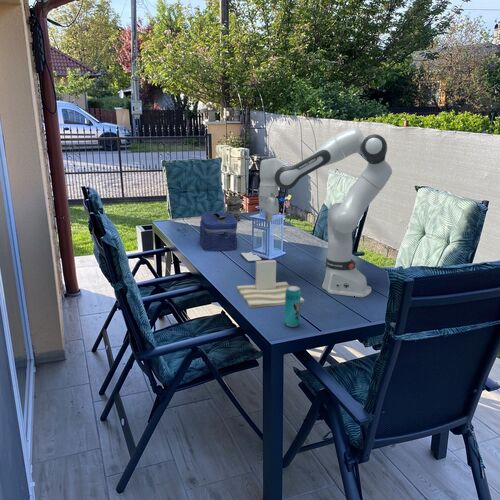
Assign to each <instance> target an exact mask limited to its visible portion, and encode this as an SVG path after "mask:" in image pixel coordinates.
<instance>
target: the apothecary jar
mask: <svg viewBox="0 0 500 500" xmlns="http://www.w3.org/2000/svg"><path fill="white" fill-rule="evenodd" d="M225 204H226V206H227V207H226V210H225V212H224V214H227V213H229V214H232V215H233V216H234V217H235V219H236V220H237V223H238V222H240V221H241V220H240V219H239V218H238V217H241V215H242V211H241V204H242V200H241V199H240V196H239V195H229V196H227V199H226V200H225Z"/></svg>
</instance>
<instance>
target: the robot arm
mask: <svg viewBox="0 0 500 500" xmlns="http://www.w3.org/2000/svg"><path fill="white" fill-rule="evenodd" d="M356 153H357V154H359V155H360V156H361V157H362V158H363V160H365V161H366V162H367V166H366V168H365V169H364V171H363V172H362V173H361V174H360V176H358V177H357V179H356V180H355V182H354V183H353V184H352V185H351V186H350V188H349V189H348V191H347V193H346V196H345V197H344V199H343V201H342V202H336V203H333V204H332V205H330V206H329V208H328V210H327V220H326V221H327V256H326V259H325V275H324V280H323V283H322V286H321V288H322V289H324V290H325V291H327V293H328V294H331V295H338V296H347V297H354V296H355V298H365V297H367V296H369V295H370V294H371V293H372V286H369V285H368V284H367V278H366V275H364V274H363V273H362V272H361V271H359V270H358V269H357V267H356V264H357V260H355V261H354V260H353V258H352V256H353V243H354V242H353V234H352V233H353V232H354V231H355V229H356V228H358V223H359V222H360V220H361V219H362V217H363V215H364V213H365V211H366V210H367V209H368V207H369V205H370V204H371V203H372V202H373V200H374V199H375V198H376V197H377V196H378V194H379V193H380V192H381V191H382V190H383V188H384V187H385V186H386V185H387V183H388V182H389V180H390V177H391V176H392V173H393V169H392V166H391V165H390V164H389V163H388V162H387V161H386V155H387V153H388V143H387V140H386V139H385V138H384V137H383V136H382V135H380V134H369V135H368V136H364V134H363V132H362V131H361V129H359V128H357V127H351V128H348V129H345V130H343V131H341V132H339V133H337V134H334V135H333V136H331V137H330V138H328V139H326V140H325V141H324V142H323V143H322V144H320V145H319V147H318V148H317V149H316V150H315V152H313V154H311V155H309V157H307V158H305V159H302V160H301V161H299V162H297V163H296V164H291V163H289V162H286V161H284V160H282V159H281V158H279V157H278V156H275V155H274V156H268V157H264V158H263V159H262V160H261V161H260V164H259V165H260V167H259V179H260V182H259V188H258V189H257V194H258V206H259V208H260V209H261V210H263V213H264V220H266V221H267V222H268V223H271V222H273V216H279V212H280V206H279V199H278V198H277V197H278V196H279V188H280V189H282V190H291V189H293V187H295V186H296V185H297V184H298V182H299V181H300V179H302V178H303V177H305V176H307V175H308V174H310V173H312V172H314V171H316V170H318V169H320V168H323V167H326V166H329V165H331V164H335V163H338V162H340V161H342V160H344V159H346V158H348V157H350V156H351V155H354V154H356Z"/></svg>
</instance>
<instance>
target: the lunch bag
mask: <svg viewBox="0 0 500 500" xmlns="http://www.w3.org/2000/svg"><path fill="white" fill-rule="evenodd" d="M200 216H201V217H200V222H199V241H200V244H201V246H202V248H203V250H204V251H205V252H213V253H214V252H223V251H226V252H227V251H228V252H229V251H235V250H237V249H238V238H237V229H238V222H237V220H236V219H235V217H234V216H233V215H232V214H229V213H227V214H225V212H224V213H223V212H206V213H205V212H204V213H202V214H201V215H200Z"/></svg>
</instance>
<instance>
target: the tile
mask: <svg viewBox="0 0 500 500" xmlns="http://www.w3.org/2000/svg"><path fill="white" fill-rule="evenodd" d="M254 276H255V288H256V290H263V289H274V288H276V283H277V260H276V259H267V260H266V259H265V260H262V261H256V262H255V275H254Z"/></svg>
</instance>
